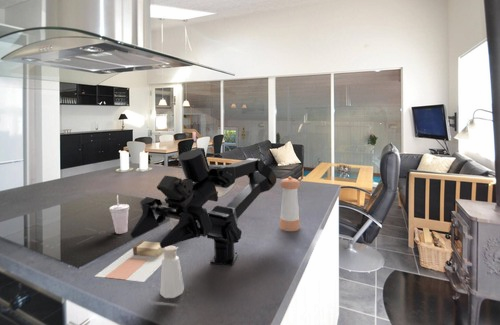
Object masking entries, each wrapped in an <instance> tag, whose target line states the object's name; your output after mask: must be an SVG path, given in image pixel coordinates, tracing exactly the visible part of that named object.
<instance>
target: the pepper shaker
mask: <svg viewBox="0 0 500 325" xmlns="http://www.w3.org/2000/svg"><path fill="white" fill-rule="evenodd" d="M176 247H177V246H175V245H170V246H167V247H165V248H164V249H163V251H164V258H163V260H162V265H161V270H160V272H161V274H160V291H159V293H160V294H159V295H161V296H162V297H163V298H164V299H175V298H176V297H178V296H181V295H182V294H183V293H184V289H185V285H184V278H183V274H182V273H183V272H182V268H181V262H180V257H179V256H178V255H177V250H176Z"/></svg>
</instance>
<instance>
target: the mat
mask: <svg viewBox="0 0 500 325" xmlns="http://www.w3.org/2000/svg"><path fill="white" fill-rule="evenodd" d="M175 247H176V251H177V249H179V248H180V247H179V246H175ZM163 258H164V252H163V253H162V254H161V255H160V256H159V257H151V256H141V255H133V247H132V248H131V249H129V250H128V251H126V252H125V253H124V254H123V255H122V256H120V257H118V258H117V259H116V260H114V261H113V262H111V263H110V264H109V265H107V266H106V267H105V268H104V269H102V270H101V271H100V272H98V273H97V274H95V275H94V277H97V278H105V279H116V280H123V281H133V282H139V283H140V282H141V283H144V282H146V281H147V280H148V279H149V278H150V277H151V275H152V274H154V273H155V272H156V270H157V269H159V268H160V267H162V260H163Z"/></svg>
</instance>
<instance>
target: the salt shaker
mask: <svg viewBox="0 0 500 325" xmlns="http://www.w3.org/2000/svg"><path fill="white" fill-rule="evenodd" d="M279 186H280V187H281V189H282V193H281V194H282V198H281V199H282V200H281V203H280V204H281V205H280V217H279V228H280V229H281V230H282V231H284V232H285V231H286V232H295V231H298V230H299V229H301V228H300V226H301V225H300V217H299V215H300V208H299V201H298V193H299V192H298V189H299V188H300V186H301V183H300V181H299V180H298V179H296V178H294V177H293V176H288V177H287V178H283V179H281V181H280V185H279Z"/></svg>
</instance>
